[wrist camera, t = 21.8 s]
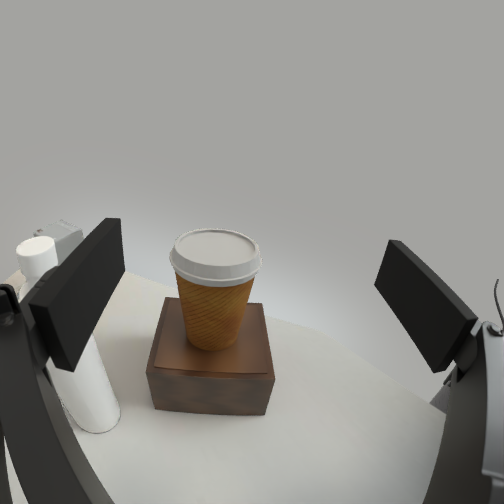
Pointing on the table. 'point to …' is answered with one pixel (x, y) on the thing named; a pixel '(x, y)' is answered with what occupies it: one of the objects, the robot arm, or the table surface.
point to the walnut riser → (210, 367)
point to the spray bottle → (90, 364)
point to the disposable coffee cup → (214, 283)
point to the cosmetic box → (62, 238)
